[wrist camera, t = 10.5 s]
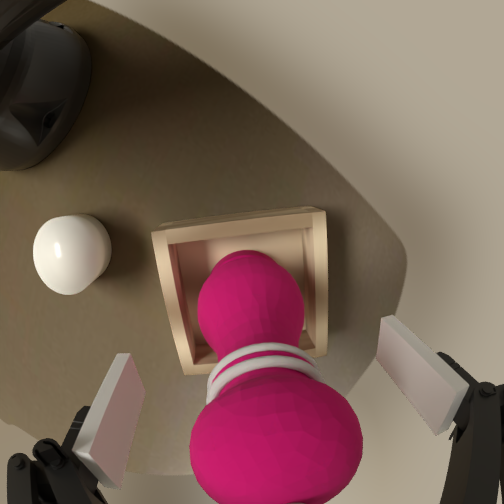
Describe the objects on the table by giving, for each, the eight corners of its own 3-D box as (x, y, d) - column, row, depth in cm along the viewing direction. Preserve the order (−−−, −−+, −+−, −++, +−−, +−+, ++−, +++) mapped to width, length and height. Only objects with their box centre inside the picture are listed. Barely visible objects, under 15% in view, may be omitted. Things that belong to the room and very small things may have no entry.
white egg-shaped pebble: (51, 270, 21) (31, 282, 18) (60, 207, 21) (38, 210, 17) (106, 288, 23) (91, 303, 19) (117, 222, 22) (101, 227, 18)
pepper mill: (253, 224, 22) (377, 468, 3) (306, 289, 24) (439, 502, 5) (184, 281, 23) (106, 535, 3) (240, 338, 25) (268, 569, 5)
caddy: (162, 222, 22) (151, 232, 18) (308, 205, 23) (325, 211, 19) (188, 349, 25) (184, 375, 21) (313, 332, 26) (326, 355, 22)
